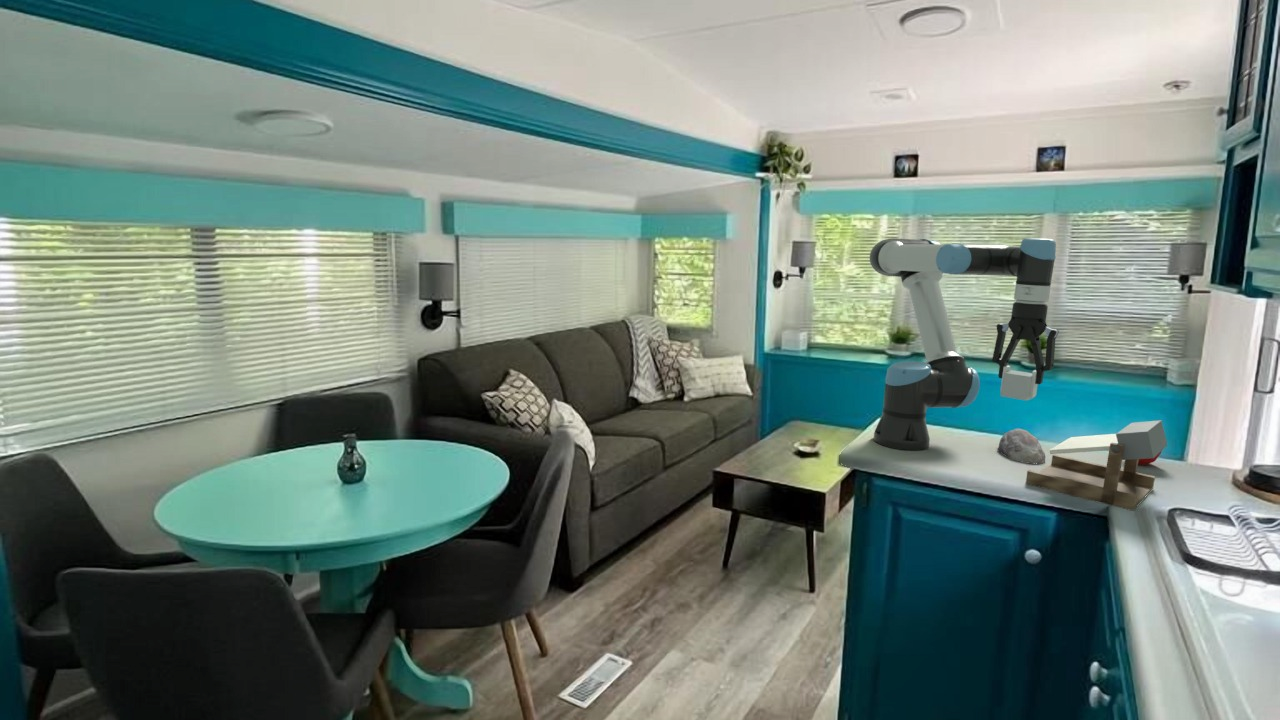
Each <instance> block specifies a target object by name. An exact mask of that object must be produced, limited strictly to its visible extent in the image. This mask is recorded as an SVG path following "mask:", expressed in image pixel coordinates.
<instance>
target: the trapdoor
mask: <svg viewBox="0 0 1280 720" xmlns="http://www.w3.org/2000/svg"><path fill="white" fill-rule="evenodd" d="M1110 443H1117V444H1122V445H1124V451H1123V457H1122V461H1125V460H1130V459H1149V458H1154V457H1156V456H1157V455H1158V454H1159V453H1160V452H1161V451H1163V450H1164V449H1165V448H1166V447H1167V446H1168V441H1167V438H1166V433H1165V428H1164V424H1163V420H1160V419H1159V420H1151V421H1150V420H1149V421H1139V422H1138V421H1135V422H1131V423H1130V424H1128V425H1127V426H1125V427H1124V428H1122V429H1121V430H1120V431H1118V432H1117V433H1108V434H1096V435H1095V434H1094V435H1084V436H1083V435H1080V436H1071V437H1068V438H1067V439H1065V440H1064V441H1062V442H1060V443H1059V444H1057V445H1055V446H1054V447H1052V448H1050V449H1048V450H1049V455H1054V454H1055V455H1059V454H1072V453H1073V454H1074V453H1091V452H1104V451H1105V452H1109V448H1110ZM1161 453H1162V452H1161Z"/></svg>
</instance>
